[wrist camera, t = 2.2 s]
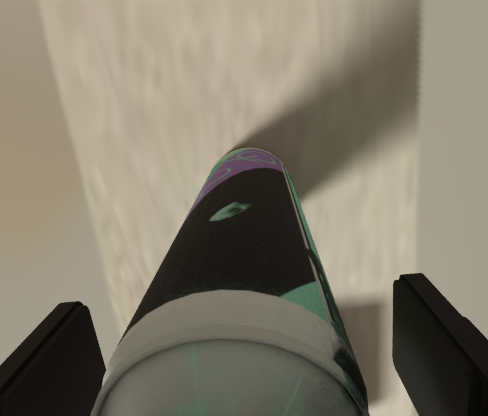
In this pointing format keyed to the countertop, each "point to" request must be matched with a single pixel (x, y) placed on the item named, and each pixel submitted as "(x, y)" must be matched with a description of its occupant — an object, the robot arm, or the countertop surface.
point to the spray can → (237, 312)
